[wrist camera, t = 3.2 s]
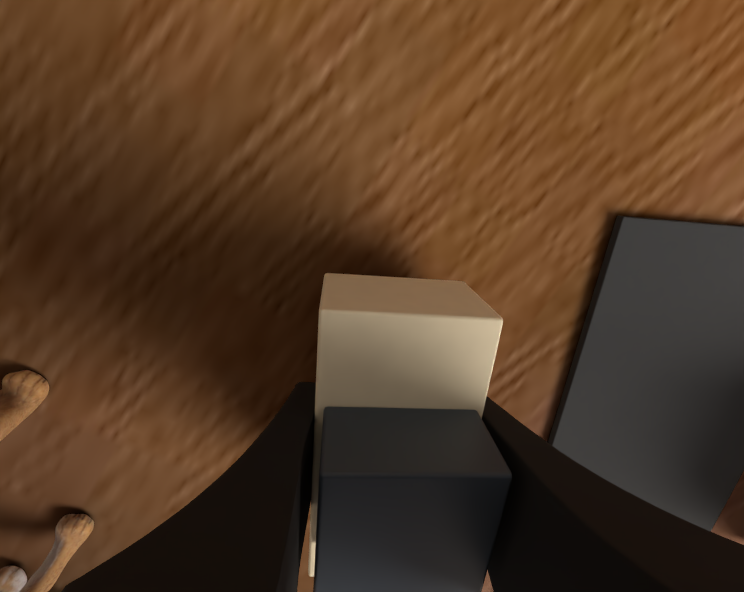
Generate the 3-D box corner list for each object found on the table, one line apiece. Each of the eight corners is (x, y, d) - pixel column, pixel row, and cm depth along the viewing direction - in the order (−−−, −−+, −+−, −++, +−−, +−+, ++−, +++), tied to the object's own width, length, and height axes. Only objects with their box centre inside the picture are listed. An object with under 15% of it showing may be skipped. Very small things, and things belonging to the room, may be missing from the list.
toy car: (423, 479, 14) (471, 663, 9) (315, 479, 13) (300, 672, 8) (458, 274, 11) (557, 367, 6) (325, 266, 11) (311, 358, 6)
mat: (657, 615, 19) (661, 621, 19) (492, 622, 18) (494, 629, 18) (859, 235, 13) (871, 237, 12) (616, 215, 12) (623, 216, 11)
